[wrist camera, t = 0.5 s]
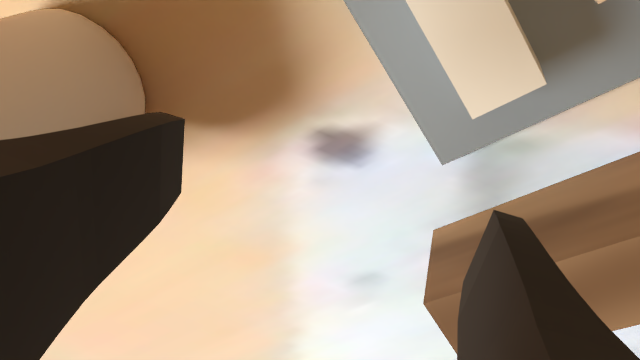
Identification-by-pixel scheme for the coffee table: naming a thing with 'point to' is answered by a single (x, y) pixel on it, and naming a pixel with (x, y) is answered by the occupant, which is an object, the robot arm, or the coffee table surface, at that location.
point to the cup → (62, 74)
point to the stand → (498, 61)
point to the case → (558, 244)
